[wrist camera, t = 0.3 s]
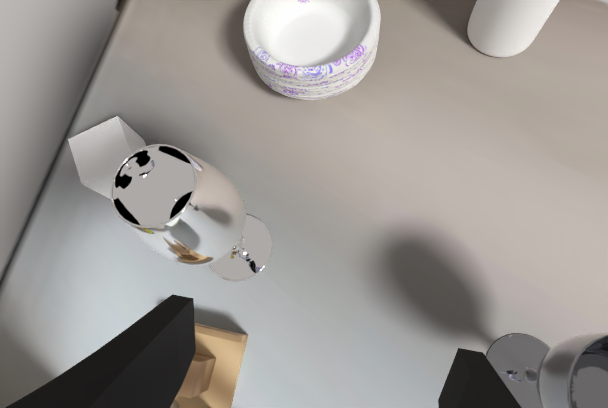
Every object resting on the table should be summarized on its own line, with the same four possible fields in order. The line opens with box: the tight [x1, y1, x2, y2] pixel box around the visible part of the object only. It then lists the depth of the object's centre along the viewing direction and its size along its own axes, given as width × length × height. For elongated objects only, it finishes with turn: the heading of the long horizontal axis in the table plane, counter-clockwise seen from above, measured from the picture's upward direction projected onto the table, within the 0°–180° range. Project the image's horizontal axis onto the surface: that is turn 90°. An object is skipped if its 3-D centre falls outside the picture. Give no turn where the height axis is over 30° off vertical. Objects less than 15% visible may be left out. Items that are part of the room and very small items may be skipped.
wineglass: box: [110, 144, 272, 282], centre depth 32 cm, size 8×8×20 cm
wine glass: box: [486, 332, 608, 408], centre depth 28 cm, size 8×8×15 cm
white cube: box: [68, 116, 146, 199], centre depth 44 cm, size 6×6×6 cm
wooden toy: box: [170, 323, 248, 408], centre depth 36 cm, size 10×8×6 cm
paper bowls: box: [243, 0, 381, 100], centre depth 45 cm, size 15×15×8 cm
